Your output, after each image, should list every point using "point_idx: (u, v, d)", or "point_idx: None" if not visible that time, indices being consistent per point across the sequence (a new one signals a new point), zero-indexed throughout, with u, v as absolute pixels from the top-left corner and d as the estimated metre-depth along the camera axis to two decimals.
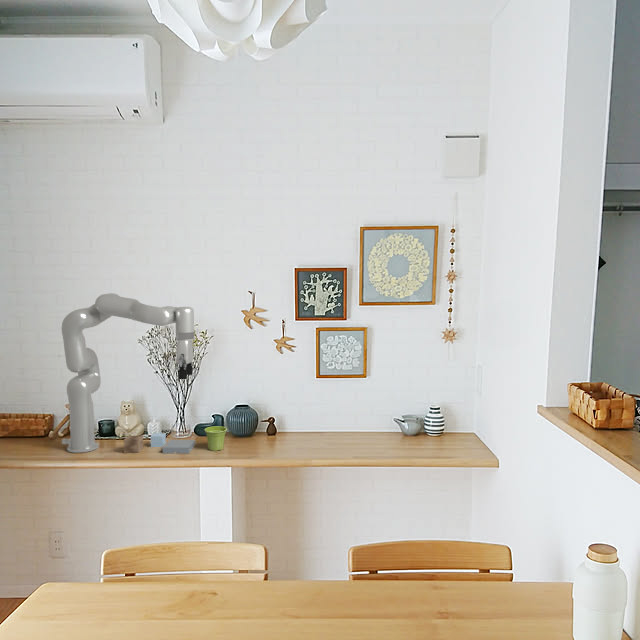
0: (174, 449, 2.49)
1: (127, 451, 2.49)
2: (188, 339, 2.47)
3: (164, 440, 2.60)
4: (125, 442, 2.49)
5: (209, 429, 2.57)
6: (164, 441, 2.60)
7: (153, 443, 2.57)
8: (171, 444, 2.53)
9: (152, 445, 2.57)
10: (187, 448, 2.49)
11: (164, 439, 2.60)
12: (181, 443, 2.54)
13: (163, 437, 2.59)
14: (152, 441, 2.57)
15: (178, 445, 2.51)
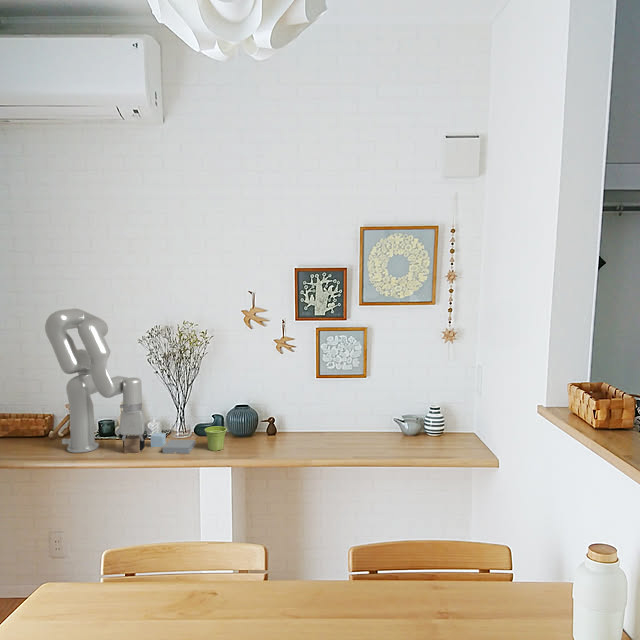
0: (174, 449, 2.49)
1: (127, 451, 2.49)
2: None
3: (164, 440, 2.60)
4: (125, 442, 2.49)
5: (209, 429, 2.57)
6: (164, 441, 2.60)
7: (153, 443, 2.57)
8: (171, 444, 2.53)
9: (152, 445, 2.57)
10: (187, 448, 2.49)
11: (164, 439, 2.60)
12: (181, 443, 2.54)
13: (163, 437, 2.59)
14: (152, 441, 2.57)
15: (178, 445, 2.51)
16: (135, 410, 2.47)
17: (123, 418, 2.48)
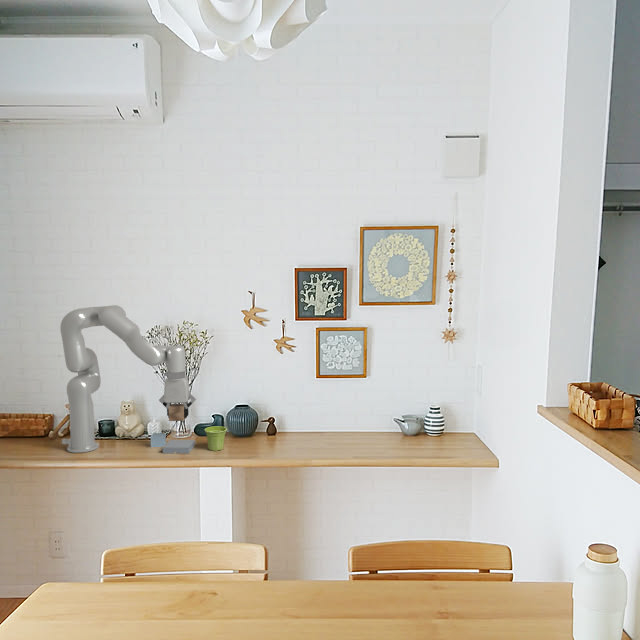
0: (174, 449, 2.49)
1: (172, 418, 2.50)
2: None
3: (164, 440, 2.60)
4: (170, 409, 2.50)
5: (209, 429, 2.57)
6: (164, 441, 2.60)
7: (153, 443, 2.57)
8: (171, 444, 2.53)
9: (152, 445, 2.57)
10: (187, 448, 2.49)
11: (164, 439, 2.60)
12: (181, 443, 2.54)
13: (163, 437, 2.59)
14: (152, 441, 2.57)
15: (178, 445, 2.51)
16: (179, 378, 2.49)
17: (167, 386, 2.49)
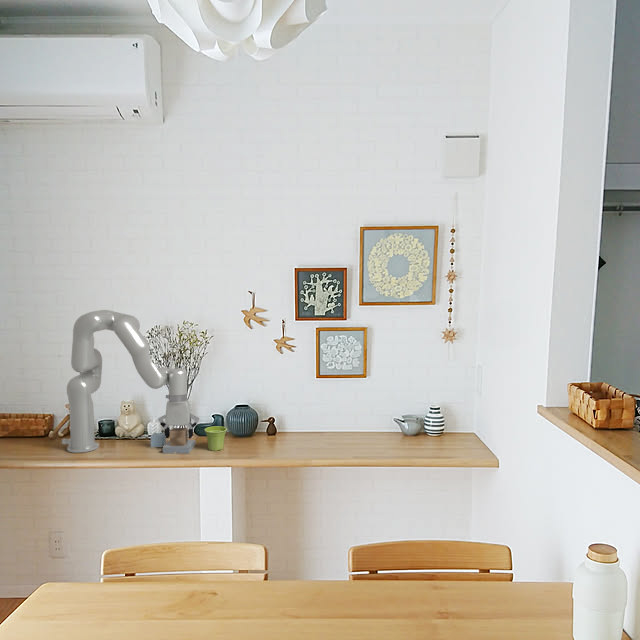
0: (174, 449, 2.49)
1: (173, 443, 2.51)
2: None
3: (164, 440, 2.60)
4: (171, 434, 2.51)
5: (209, 429, 2.57)
6: (164, 441, 2.60)
7: (153, 443, 2.57)
8: None
9: (152, 445, 2.57)
10: (187, 448, 2.49)
11: (164, 439, 2.60)
12: None
13: (163, 437, 2.59)
14: (152, 441, 2.57)
15: None
16: (181, 400, 2.49)
17: (168, 409, 2.50)
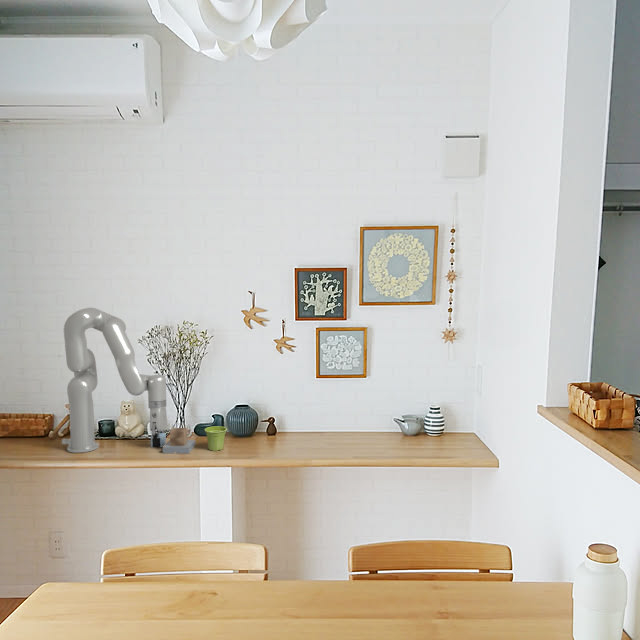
0: (174, 449, 2.49)
1: (173, 443, 2.51)
2: None
3: (164, 440, 2.60)
4: (171, 434, 2.51)
5: (209, 429, 2.57)
6: (164, 441, 2.60)
7: None
8: None
9: (152, 445, 2.57)
10: (187, 448, 2.49)
11: (164, 439, 2.60)
12: None
13: (163, 437, 2.59)
14: None
15: None
16: None
17: (161, 415, 2.55)
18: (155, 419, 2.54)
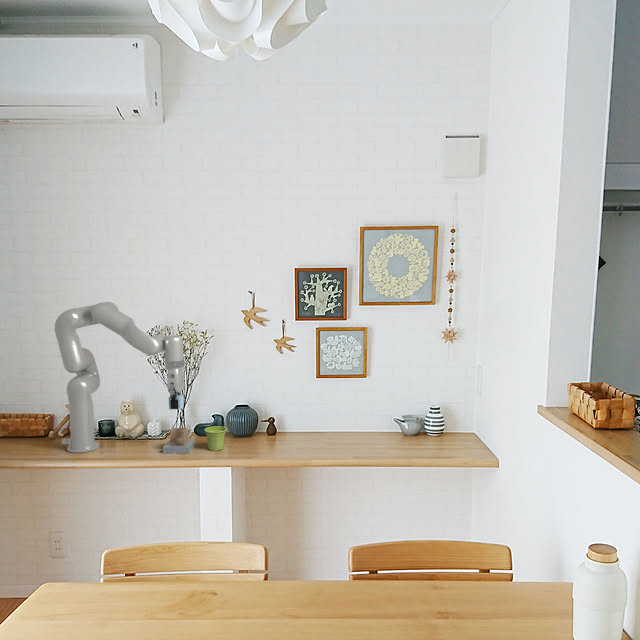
0: (174, 449, 2.49)
1: (173, 443, 2.51)
2: None
3: (182, 402, 2.54)
4: (171, 434, 2.51)
5: (209, 429, 2.57)
6: (182, 403, 2.54)
7: None
8: None
9: (170, 407, 2.51)
10: (187, 448, 2.49)
11: (182, 401, 2.54)
12: None
13: (181, 398, 2.53)
14: None
15: None
16: None
17: (179, 375, 2.49)
18: (173, 380, 2.48)
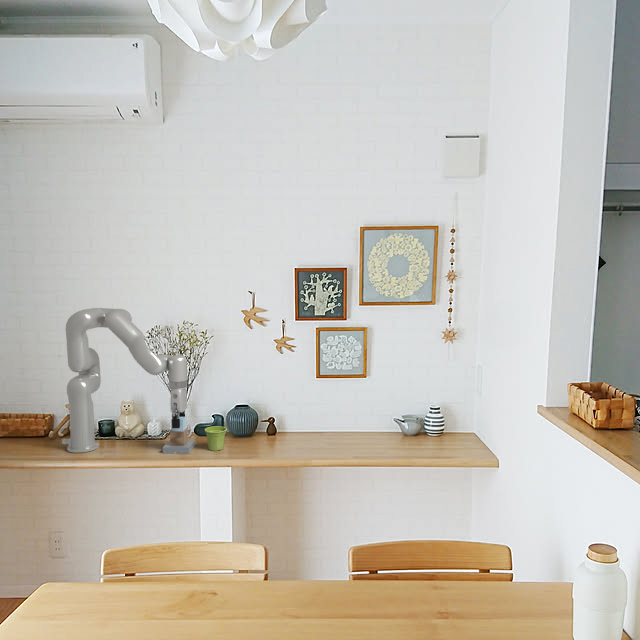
0: (174, 449, 2.49)
1: (173, 443, 2.51)
2: None
3: (185, 424, 2.54)
4: (171, 434, 2.51)
5: (209, 429, 2.57)
6: (185, 425, 2.54)
7: None
8: None
9: (173, 429, 2.51)
10: (187, 448, 2.49)
11: (185, 423, 2.54)
12: None
13: (184, 420, 2.53)
14: None
15: None
16: None
17: (182, 396, 2.49)
18: (176, 400, 2.47)
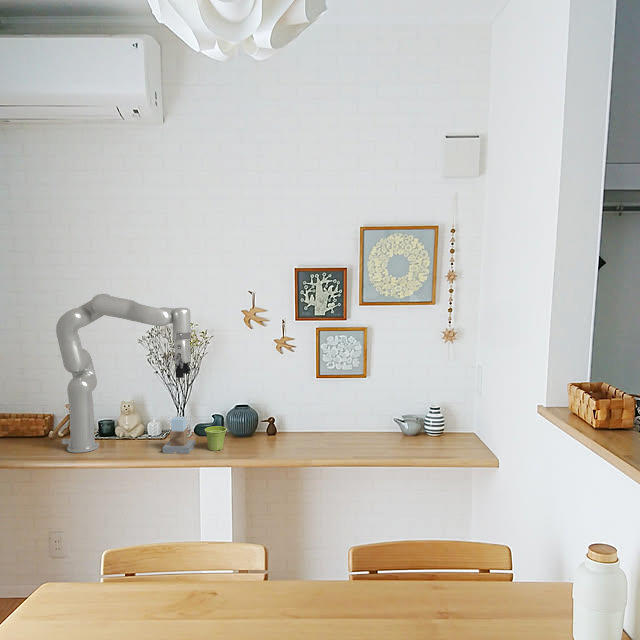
0: (174, 449, 2.49)
1: (173, 443, 2.51)
2: None
3: (185, 424, 2.54)
4: (171, 434, 2.51)
5: (209, 429, 2.57)
6: (185, 425, 2.54)
7: (173, 426, 2.51)
8: None
9: (173, 429, 2.51)
10: (187, 448, 2.49)
11: (185, 423, 2.54)
12: None
13: (184, 420, 2.53)
14: (173, 424, 2.51)
15: None
16: None
17: (186, 347, 2.55)
18: (180, 350, 2.54)
